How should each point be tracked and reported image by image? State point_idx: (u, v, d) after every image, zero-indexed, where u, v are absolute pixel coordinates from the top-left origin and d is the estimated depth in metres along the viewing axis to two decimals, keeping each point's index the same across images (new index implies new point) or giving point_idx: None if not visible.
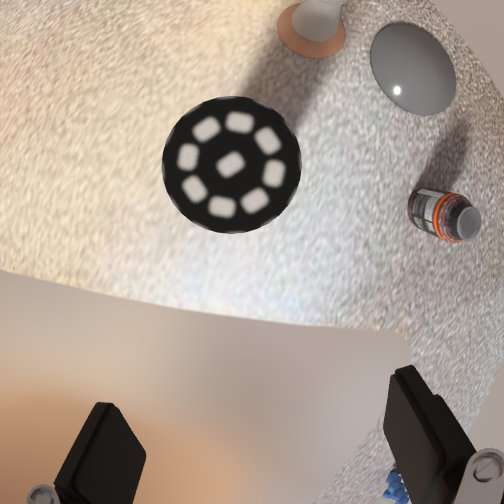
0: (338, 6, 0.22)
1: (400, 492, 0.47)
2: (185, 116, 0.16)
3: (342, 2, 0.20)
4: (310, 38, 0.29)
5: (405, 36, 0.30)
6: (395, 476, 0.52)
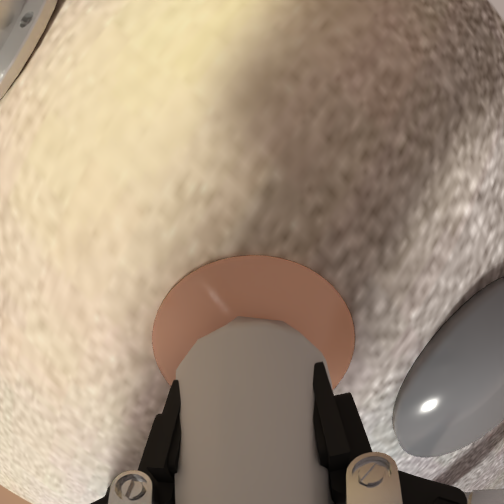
0: None
1: None
2: None
3: None
4: None
5: None
6: None
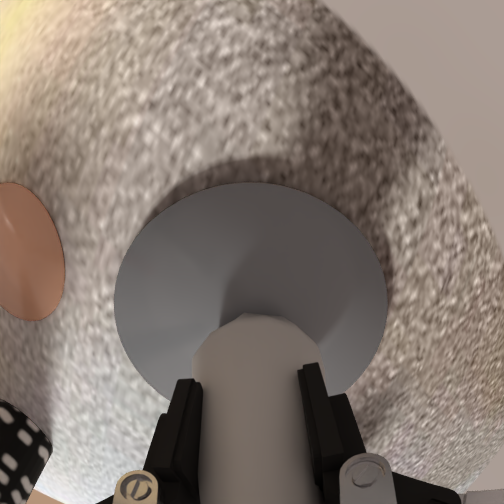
0: None
1: None
2: None
3: None
4: None
5: (218, 237, 0.13)
6: None
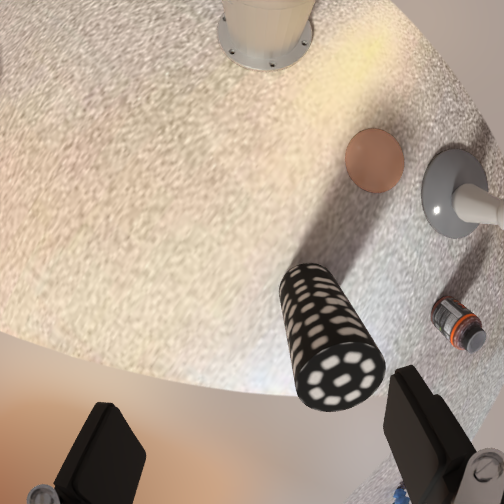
0: None
1: None
2: (316, 355, 0.24)
3: None
4: None
5: (454, 163, 0.37)
6: (401, 492, 0.59)
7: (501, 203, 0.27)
